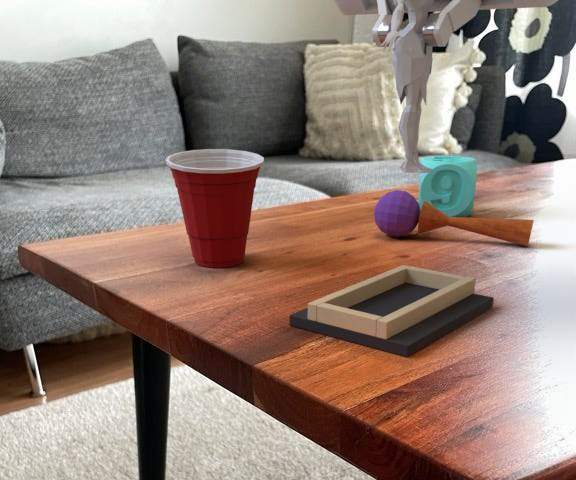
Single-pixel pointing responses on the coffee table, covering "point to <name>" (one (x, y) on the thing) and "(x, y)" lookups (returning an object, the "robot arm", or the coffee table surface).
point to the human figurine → (410, 73)
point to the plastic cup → (216, 201)
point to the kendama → (441, 220)
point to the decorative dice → (449, 184)
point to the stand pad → (396, 309)
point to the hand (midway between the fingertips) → (407, 40)
